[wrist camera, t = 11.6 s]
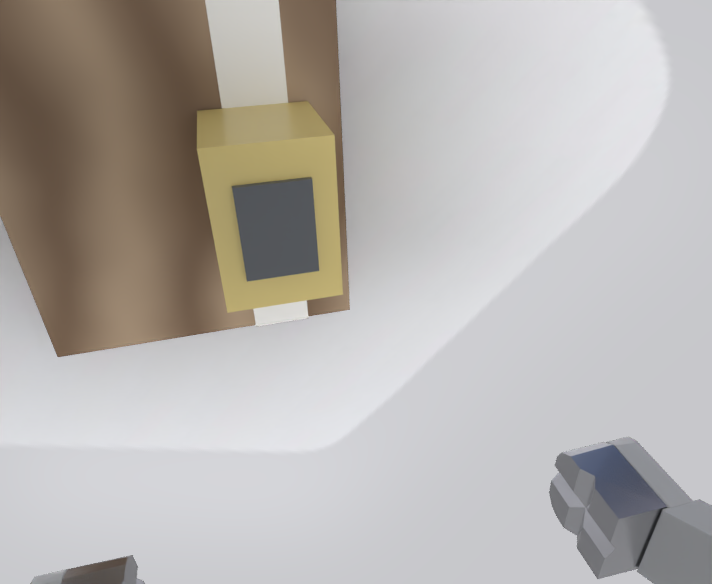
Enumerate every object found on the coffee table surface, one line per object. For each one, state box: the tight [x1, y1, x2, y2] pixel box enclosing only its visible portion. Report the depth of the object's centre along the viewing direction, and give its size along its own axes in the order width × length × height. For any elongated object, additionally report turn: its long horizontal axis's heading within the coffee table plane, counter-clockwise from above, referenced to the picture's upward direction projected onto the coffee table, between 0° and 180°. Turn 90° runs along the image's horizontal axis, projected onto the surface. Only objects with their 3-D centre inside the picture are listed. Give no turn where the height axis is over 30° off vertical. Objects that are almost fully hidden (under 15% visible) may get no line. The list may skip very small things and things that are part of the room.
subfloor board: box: [0, 0, 350, 357], centre depth 26 cm, size 16×17×2 cm
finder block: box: [197, 101, 343, 313], centre depth 24 cm, size 5×7×6 cm
